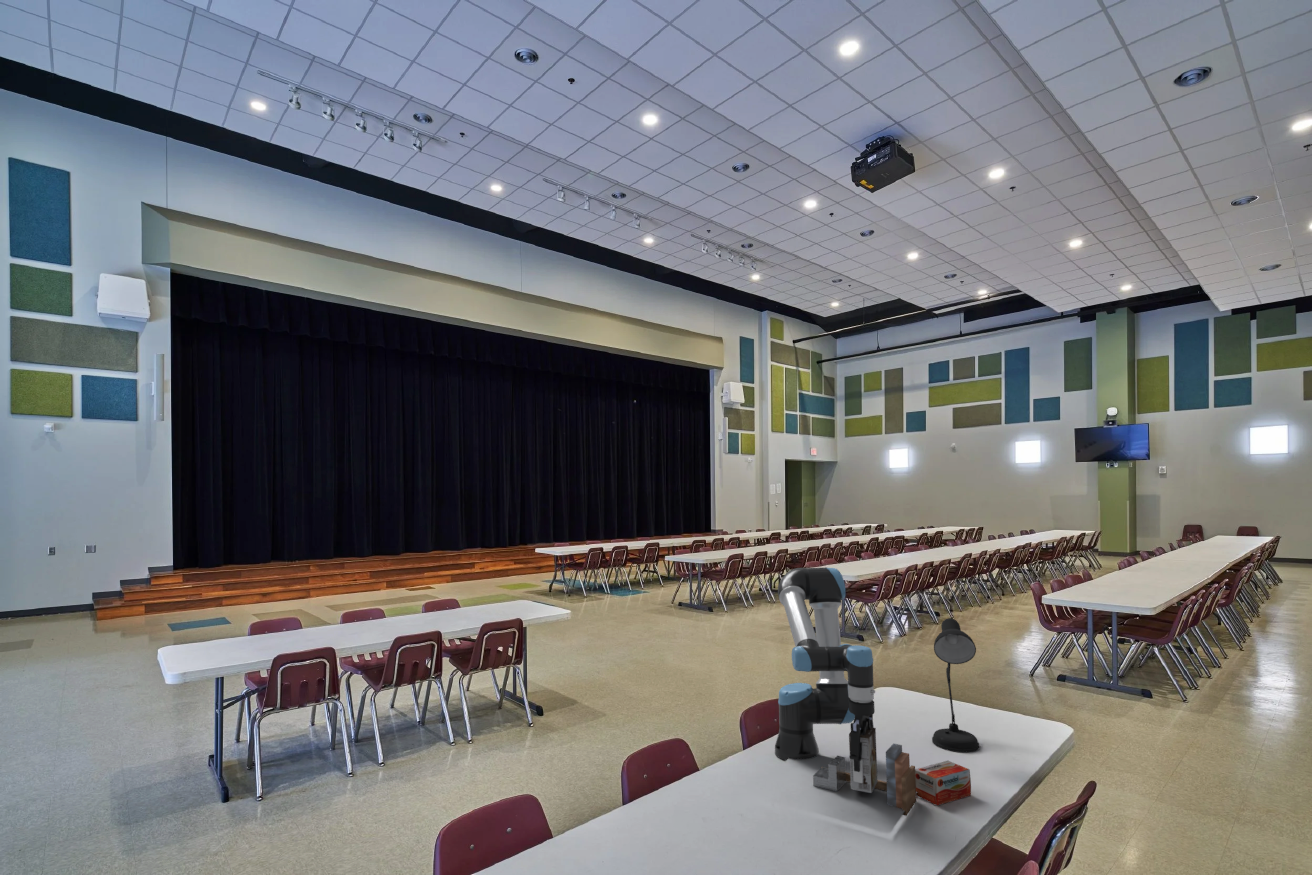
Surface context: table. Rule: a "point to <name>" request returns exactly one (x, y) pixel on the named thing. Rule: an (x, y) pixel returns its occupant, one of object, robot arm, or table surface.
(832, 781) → the grey stepped block
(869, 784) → the coffee box
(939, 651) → the desk lamp
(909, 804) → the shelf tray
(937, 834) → the table surface
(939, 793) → the medicine box
